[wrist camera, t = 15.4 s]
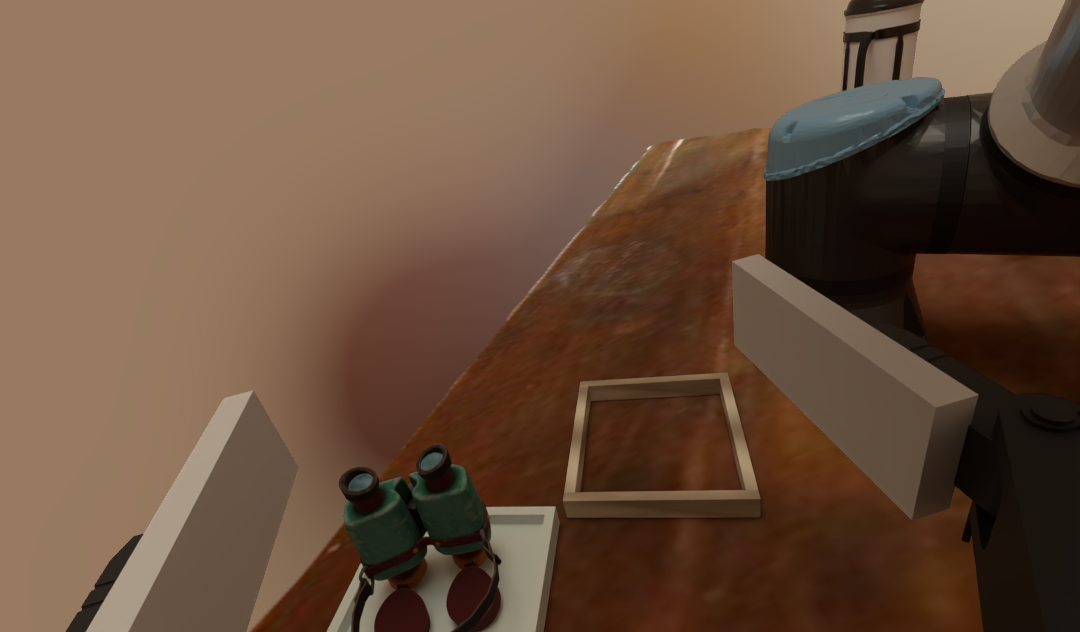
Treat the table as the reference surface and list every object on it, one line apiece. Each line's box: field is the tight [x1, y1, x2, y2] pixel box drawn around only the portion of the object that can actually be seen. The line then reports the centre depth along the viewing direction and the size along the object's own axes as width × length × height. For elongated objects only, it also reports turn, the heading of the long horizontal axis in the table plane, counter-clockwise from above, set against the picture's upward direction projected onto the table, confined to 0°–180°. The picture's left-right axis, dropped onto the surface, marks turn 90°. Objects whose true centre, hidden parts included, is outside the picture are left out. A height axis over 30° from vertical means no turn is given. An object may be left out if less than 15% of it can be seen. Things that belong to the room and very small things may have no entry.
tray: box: [327, 507, 560, 632], centre depth 34 cm, size 14×13×2 cm
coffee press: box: [841, 0, 924, 92], centre depth 103 cm, size 17×16×30 cm
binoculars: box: [339, 443, 502, 632], centre depth 32 cm, size 9×11×10 cm
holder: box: [563, 373, 761, 518], centre depth 44 cm, size 15×14×2 cm
